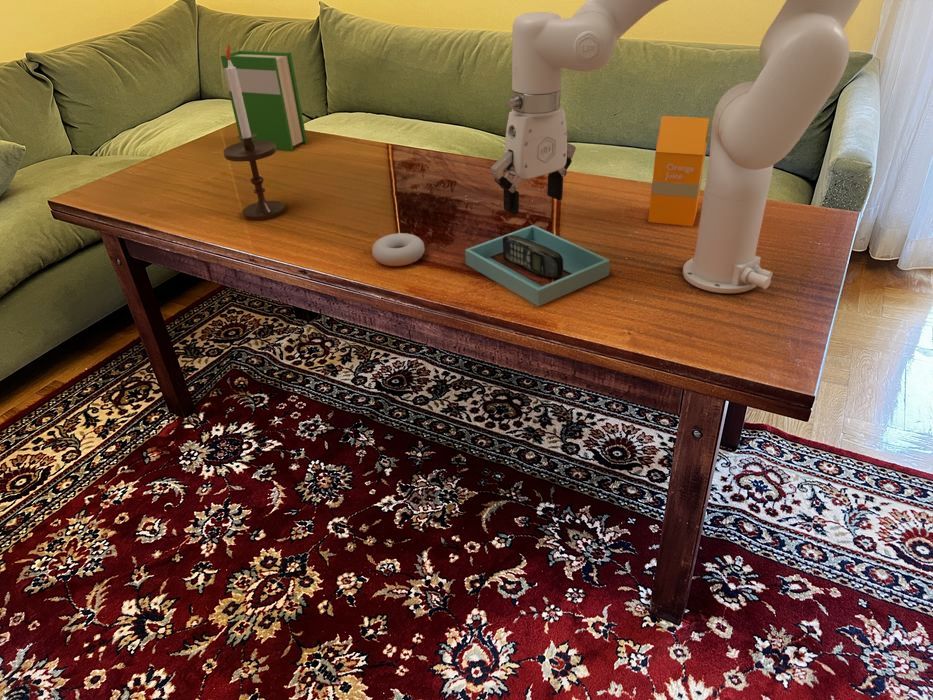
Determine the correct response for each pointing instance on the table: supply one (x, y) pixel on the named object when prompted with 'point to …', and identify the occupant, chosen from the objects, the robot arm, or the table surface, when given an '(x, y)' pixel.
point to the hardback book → (268, 96)
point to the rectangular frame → (575, 262)
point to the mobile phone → (533, 256)
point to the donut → (398, 249)
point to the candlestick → (250, 153)
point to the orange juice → (678, 170)
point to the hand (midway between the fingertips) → (533, 204)
